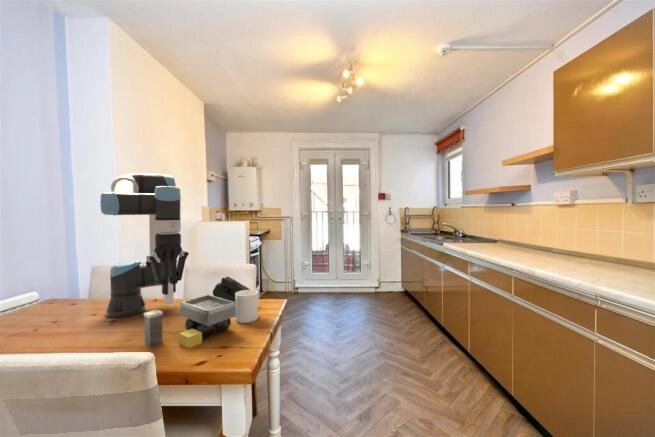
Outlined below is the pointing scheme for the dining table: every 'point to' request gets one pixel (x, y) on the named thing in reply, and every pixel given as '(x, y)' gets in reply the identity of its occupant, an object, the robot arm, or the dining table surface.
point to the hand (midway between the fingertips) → (169, 303)
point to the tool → (228, 289)
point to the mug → (246, 306)
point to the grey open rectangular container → (208, 314)
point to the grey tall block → (153, 327)
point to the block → (190, 338)
